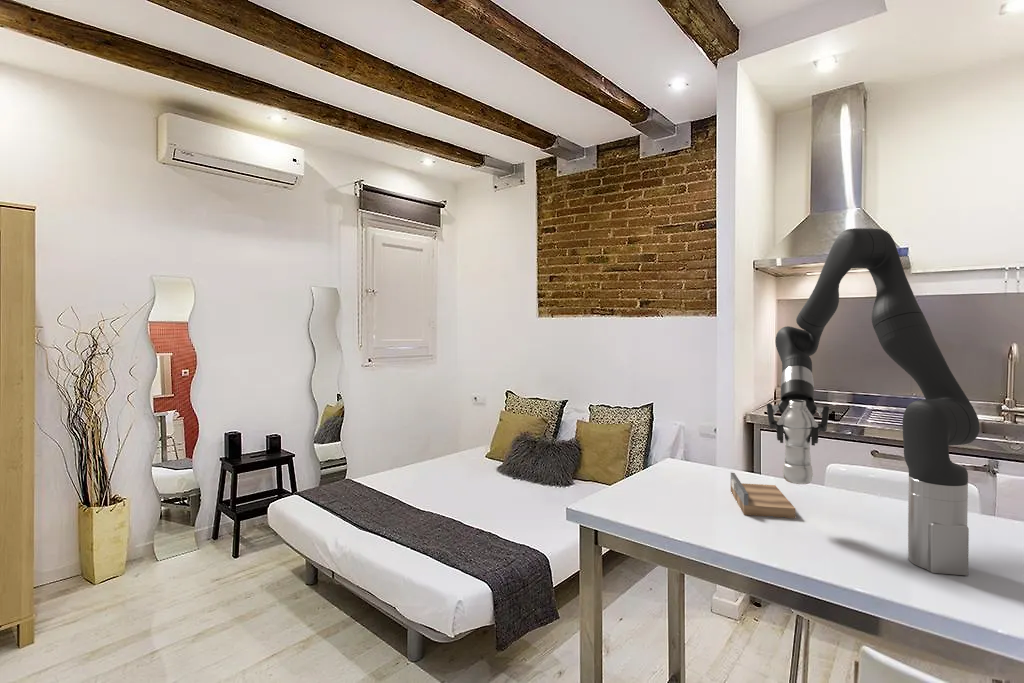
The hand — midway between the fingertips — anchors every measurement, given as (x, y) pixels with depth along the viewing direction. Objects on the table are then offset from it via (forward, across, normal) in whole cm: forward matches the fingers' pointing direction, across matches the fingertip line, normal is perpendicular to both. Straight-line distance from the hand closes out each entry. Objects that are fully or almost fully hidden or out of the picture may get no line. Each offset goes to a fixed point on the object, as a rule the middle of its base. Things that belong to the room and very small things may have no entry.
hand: (797, 442), depth 125 cm
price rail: (+3, -14, +22) cm, 27 cm away
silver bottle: (+6, 0, +9) cm, 11 cm away
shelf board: (+4, -9, +25) cm, 27 cm away
